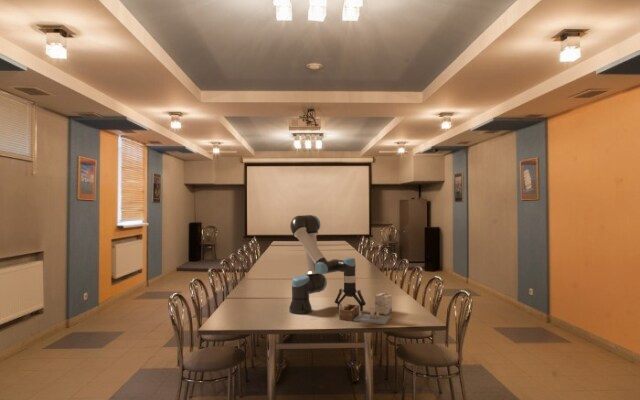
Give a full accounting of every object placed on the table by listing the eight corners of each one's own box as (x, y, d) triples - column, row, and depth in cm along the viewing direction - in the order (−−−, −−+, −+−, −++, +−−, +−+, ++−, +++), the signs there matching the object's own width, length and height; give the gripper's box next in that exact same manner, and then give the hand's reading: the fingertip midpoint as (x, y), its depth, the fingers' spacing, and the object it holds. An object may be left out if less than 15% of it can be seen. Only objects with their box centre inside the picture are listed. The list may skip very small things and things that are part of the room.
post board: (353, 320, 264) (353, 309, 264) (360, 315, 277) (360, 304, 277) (385, 324, 256) (385, 312, 256) (390, 318, 269) (390, 307, 269)
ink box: (381, 309, 290) (381, 290, 290) (392, 312, 285) (392, 292, 285) (374, 312, 283) (374, 292, 283) (385, 314, 278) (385, 294, 278)
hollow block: (351, 321, 263) (351, 311, 263) (339, 319, 266) (339, 310, 266) (359, 314, 278) (359, 305, 278) (347, 313, 281) (347, 304, 281)
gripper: (329, 281, 274) (329, 314, 273) (366, 284, 264) (367, 318, 264) (333, 279, 281) (334, 312, 280) (370, 282, 271) (370, 315, 271)
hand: (350, 315), depth 272 cm, fingers open, 13 cm apart
